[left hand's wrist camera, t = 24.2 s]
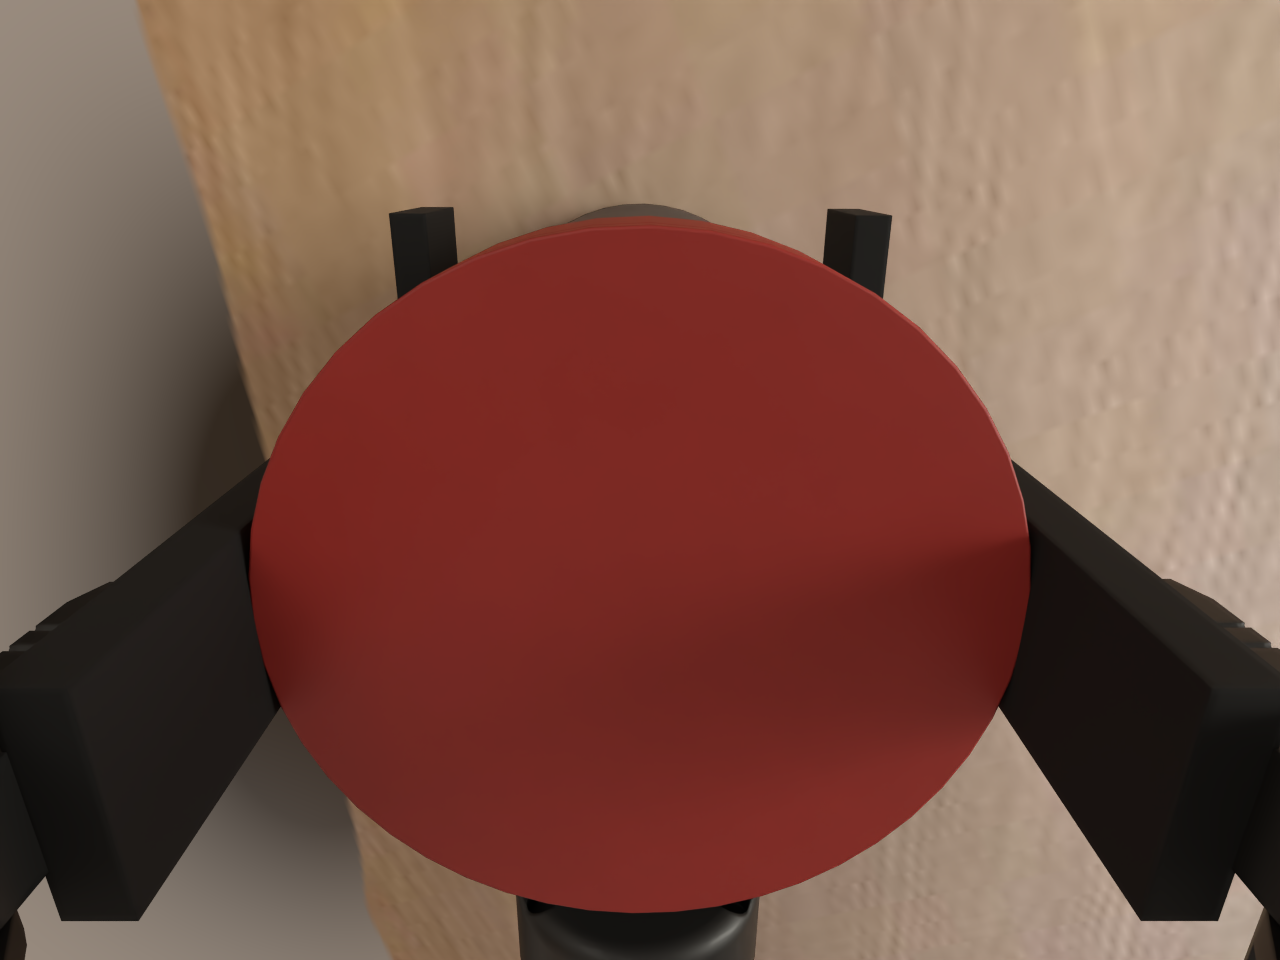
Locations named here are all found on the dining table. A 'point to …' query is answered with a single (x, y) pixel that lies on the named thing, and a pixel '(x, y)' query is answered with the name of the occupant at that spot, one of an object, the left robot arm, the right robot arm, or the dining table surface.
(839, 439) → the lid
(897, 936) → the dining table surface
